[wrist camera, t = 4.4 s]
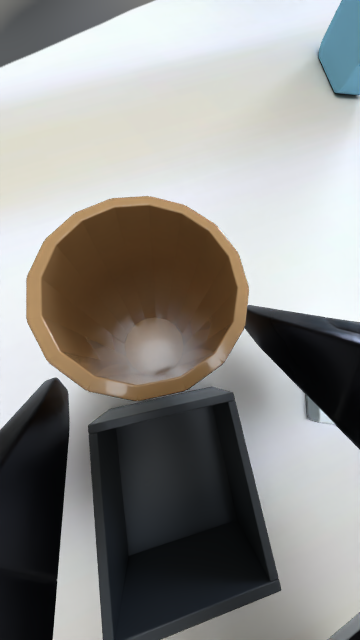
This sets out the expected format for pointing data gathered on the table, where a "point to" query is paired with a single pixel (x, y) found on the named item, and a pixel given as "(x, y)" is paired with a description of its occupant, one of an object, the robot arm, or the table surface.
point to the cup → (137, 298)
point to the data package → (343, 49)
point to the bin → (176, 515)
